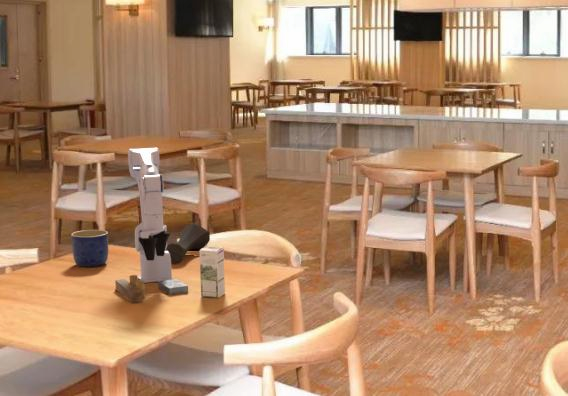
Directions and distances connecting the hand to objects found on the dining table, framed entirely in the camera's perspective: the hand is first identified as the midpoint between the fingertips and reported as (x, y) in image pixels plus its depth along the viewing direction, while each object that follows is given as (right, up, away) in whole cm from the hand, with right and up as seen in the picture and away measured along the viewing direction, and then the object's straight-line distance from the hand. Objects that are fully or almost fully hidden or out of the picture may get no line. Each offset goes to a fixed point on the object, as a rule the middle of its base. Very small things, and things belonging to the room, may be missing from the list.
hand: (155, 258), depth 308 cm
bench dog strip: (-6, -11, -5) cm, 13 cm away
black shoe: (+5, -2, +48) cm, 48 cm away
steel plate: (+5, -10, 0) cm, 12 cm away
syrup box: (+18, -11, -7) cm, 22 cm away
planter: (-27, -5, +36) cm, 45 cm away
